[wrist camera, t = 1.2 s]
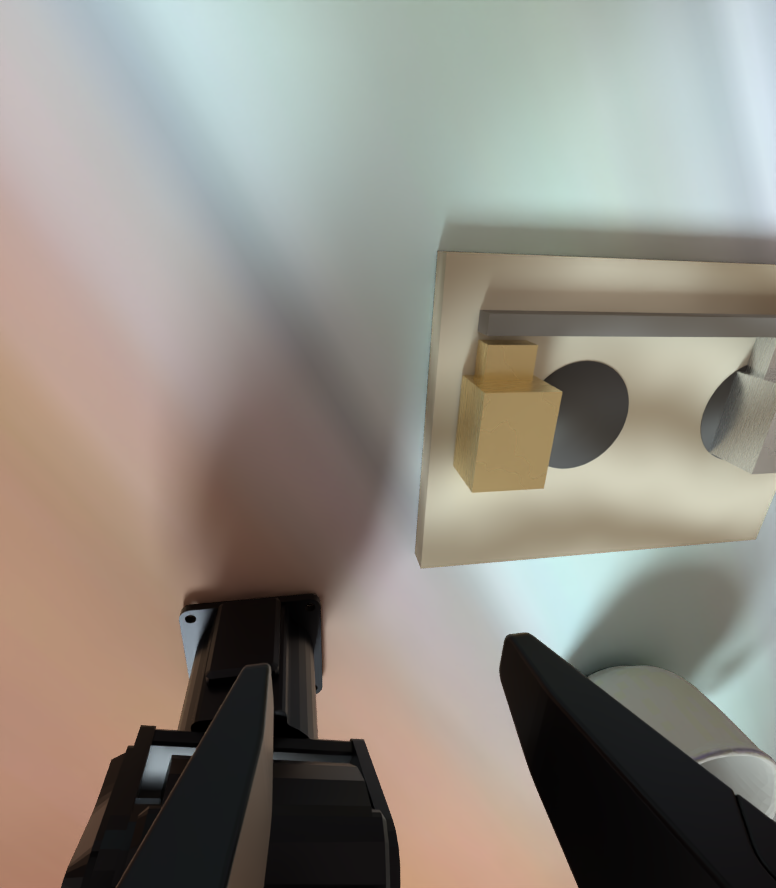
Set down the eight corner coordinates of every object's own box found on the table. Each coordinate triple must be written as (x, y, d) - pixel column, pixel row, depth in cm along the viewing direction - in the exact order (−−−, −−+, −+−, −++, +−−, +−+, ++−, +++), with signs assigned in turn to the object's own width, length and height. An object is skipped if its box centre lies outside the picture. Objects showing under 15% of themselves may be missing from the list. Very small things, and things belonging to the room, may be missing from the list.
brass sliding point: (517, 462, 21) (544, 488, 19) (452, 465, 20) (472, 492, 18) (537, 340, 19) (570, 353, 17) (466, 339, 18) (489, 353, 16)
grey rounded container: (495, 722, 30) (559, 874, 23) (622, 609, 28) (736, 738, 21) (613, 782, 36) (694, 920, 28) (727, 692, 34) (845, 816, 26)
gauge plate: (737, 527, 27) (772, 550, 25) (415, 553, 24) (426, 582, 22) (838, 267, 22) (894, 270, 20) (437, 250, 18) (455, 252, 16)
